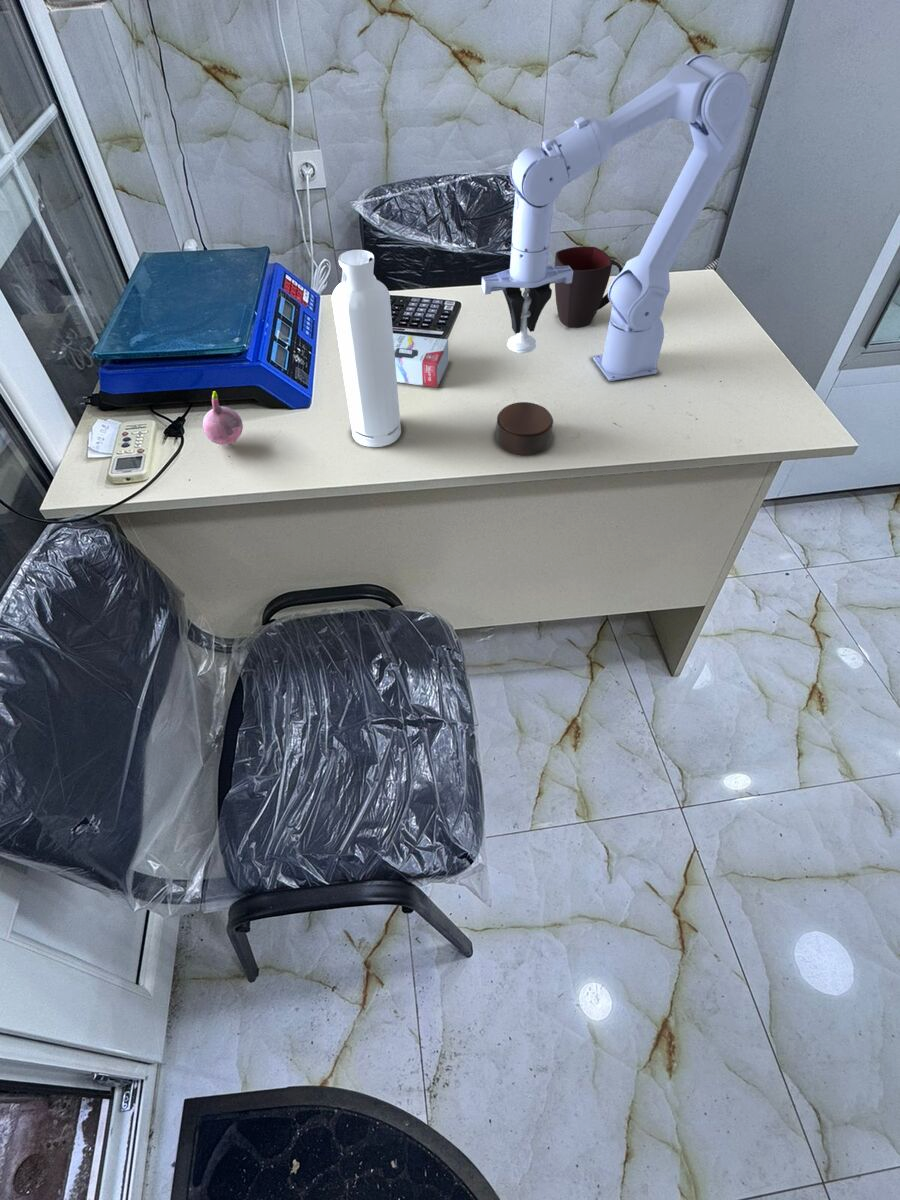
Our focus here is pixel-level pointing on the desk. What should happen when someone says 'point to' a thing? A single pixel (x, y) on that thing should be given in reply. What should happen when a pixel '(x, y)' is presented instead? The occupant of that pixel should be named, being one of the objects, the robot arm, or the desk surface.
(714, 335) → the desk surface
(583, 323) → the cup
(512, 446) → the stand
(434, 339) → the ink box
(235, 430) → the vegetable
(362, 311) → the bottle
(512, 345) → the chess piece
